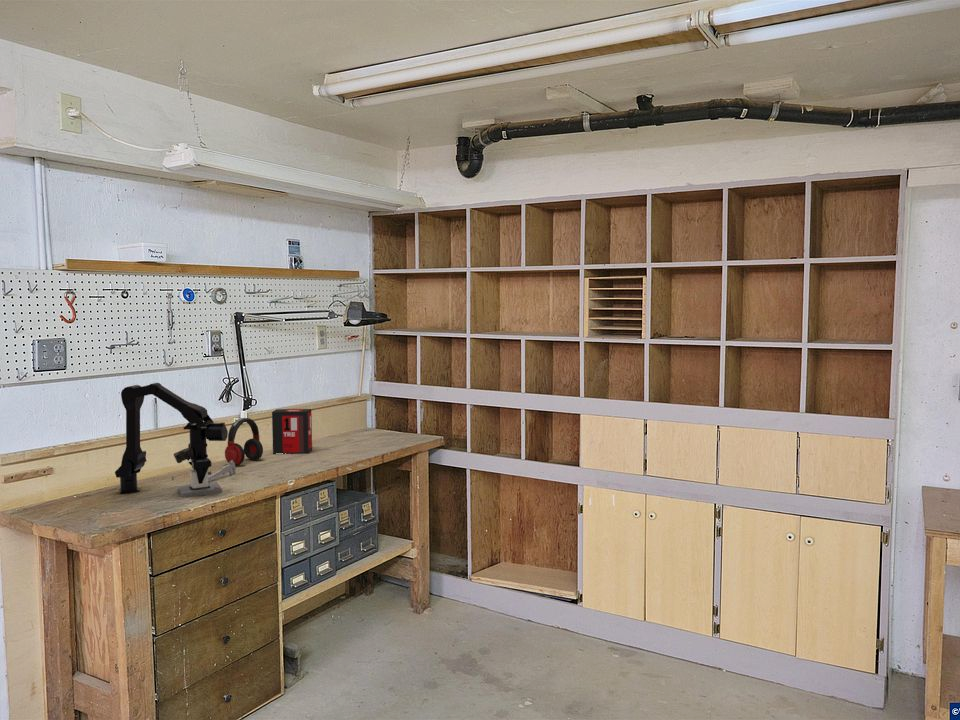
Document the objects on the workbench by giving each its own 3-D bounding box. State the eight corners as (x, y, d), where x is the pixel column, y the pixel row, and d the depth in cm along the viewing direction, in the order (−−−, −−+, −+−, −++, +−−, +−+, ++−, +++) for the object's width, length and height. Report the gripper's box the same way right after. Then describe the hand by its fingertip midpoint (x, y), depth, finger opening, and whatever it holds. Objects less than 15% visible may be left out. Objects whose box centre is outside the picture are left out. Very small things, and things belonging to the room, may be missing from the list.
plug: (190, 485, 271) (190, 470, 271) (210, 483, 275) (210, 467, 274) (192, 488, 267) (192, 472, 267) (212, 486, 271) (212, 470, 270)
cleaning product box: (273, 454, 339) (271, 411, 338) (277, 450, 348) (276, 409, 347) (308, 453, 340) (307, 411, 338) (312, 450, 349) (311, 408, 347)
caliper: (233, 474, 299) (233, 459, 299) (235, 474, 299) (235, 459, 298) (196, 485, 281) (196, 469, 280) (198, 486, 280) (198, 470, 280)
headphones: (239, 468, 310) (238, 421, 309) (221, 466, 314) (220, 420, 313) (266, 459, 326) (265, 416, 325) (248, 458, 330) (247, 414, 329)
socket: (177, 490, 272) (177, 484, 272) (216, 485, 279) (216, 480, 279) (182, 497, 262) (181, 491, 262) (222, 492, 269) (222, 486, 269)
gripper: (171, 439, 273) (173, 479, 275) (178, 447, 257) (179, 490, 258) (202, 436, 279) (204, 476, 280) (211, 444, 263) (212, 486, 264)
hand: (199, 482), depth 270 cm, fingers closed on plug, 4 cm apart
